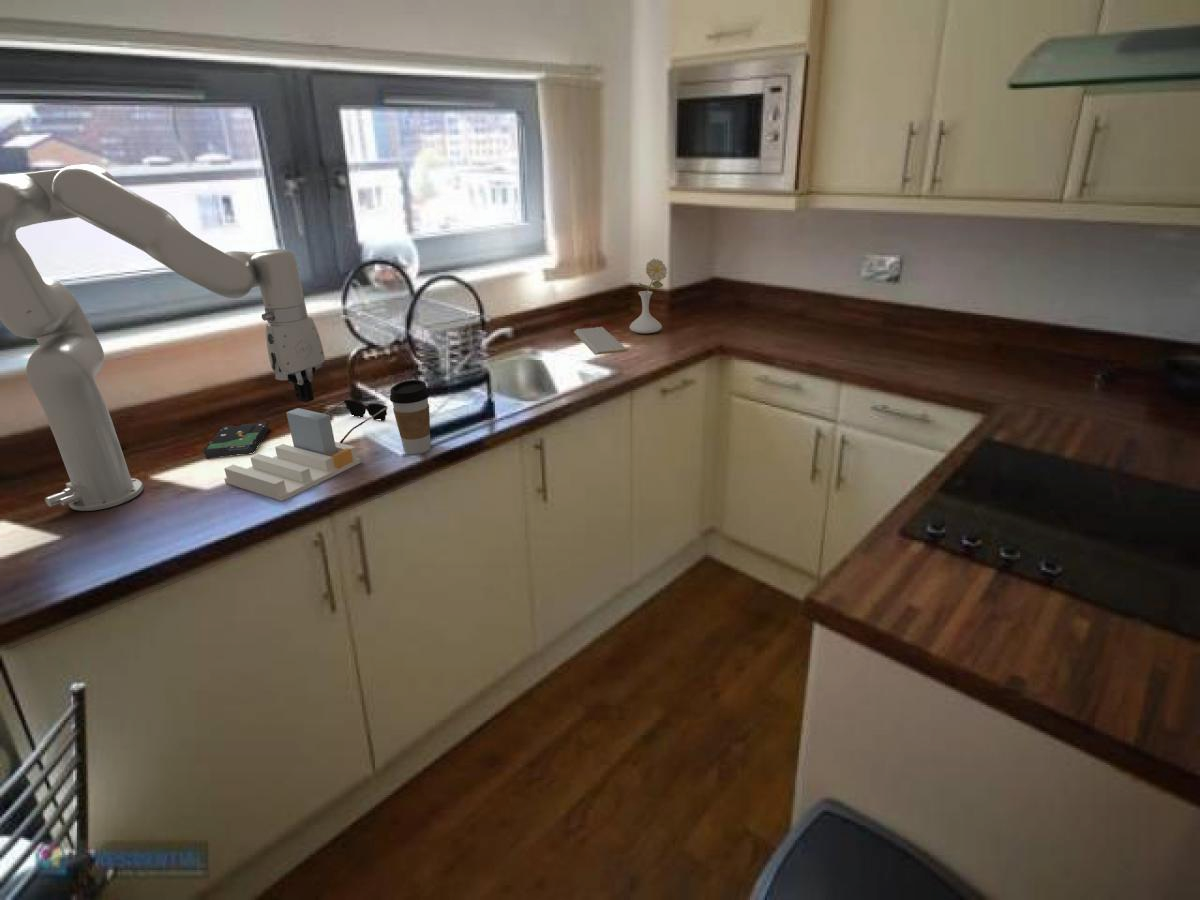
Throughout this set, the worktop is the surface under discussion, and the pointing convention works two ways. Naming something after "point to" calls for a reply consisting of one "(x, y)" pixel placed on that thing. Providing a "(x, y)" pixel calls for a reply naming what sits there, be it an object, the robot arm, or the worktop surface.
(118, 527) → the worktop surface
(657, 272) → the flower in vase
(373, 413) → the sunglasses
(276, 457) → the rack
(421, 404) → the coffee cup
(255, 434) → the disk drive
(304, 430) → the panel
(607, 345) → the baseboard
